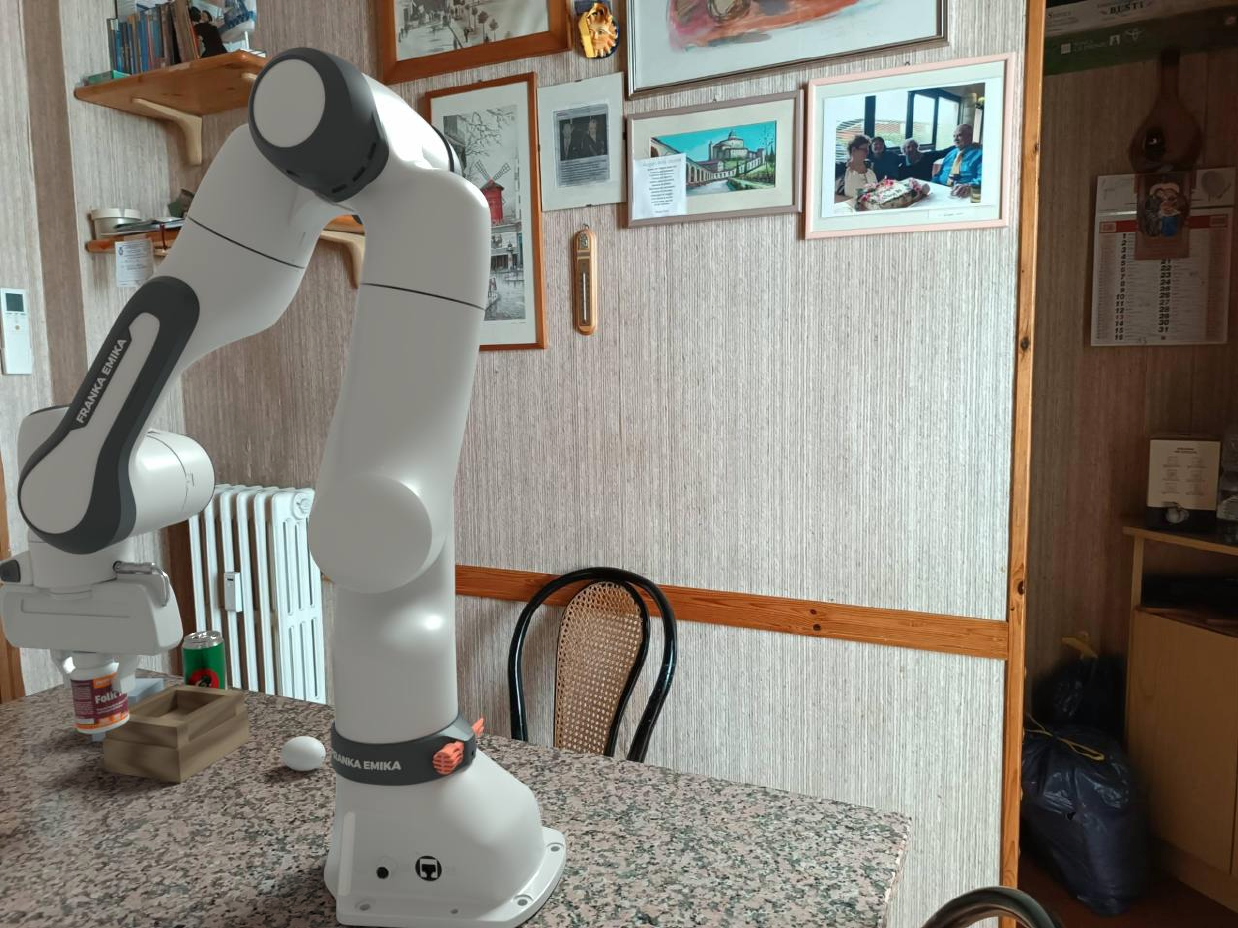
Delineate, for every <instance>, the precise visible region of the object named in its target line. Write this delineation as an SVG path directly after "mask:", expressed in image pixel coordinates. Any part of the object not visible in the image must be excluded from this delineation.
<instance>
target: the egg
mask: <svg viewBox="0 0 1238 928" xmlns="http://www.w3.org/2000/svg"><path fill="white" fill-rule="evenodd" d="M280 754H281V759H282V761H283V763H284V765H286V766H287V767H289V768H290V769H292V770H294V771H299V772H308V771H312V770H315V769H317V768H318V767H320V766H321V765H322V764H323V762H324V761H325V758H326V748H325V747H324V744H323V743H322V742H321V741H320V740H318V739H316V738H315V737H312V736H307V735H306V736H304V735H303V736H302V735H301V736H300V735H299V736H296V737H293V738H292V739H289V740H288V741H287V742H286V743H285V744H284V745H283V746H282V749H281V753H280Z"/></svg>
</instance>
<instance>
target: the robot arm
mask: <svg viewBox="0 0 1238 928" xmlns="http://www.w3.org/2000/svg"><path fill="white" fill-rule="evenodd" d="M250 89H251V90H250V93H249V97H248V103H247V123H243V124H241V125H240V126H238V127H236V128H235V129H234V130H233V131H232V132H231V133H230V135H229V136H228V137H227V138H226V140H225V141H224V143H223V144H222V146H221V147H220V149H219V150H218V152H217V154H216V155H215V157H214V159H213V160H212V162H211V163H210V165H209V167H208V169H207V171H206V173H205V174H204V176H203V178H202V180H201V181H200V184H199V186H198V188H197V191H196V192H195V195H194V197H193V199H192V201H191V203H190V206H189V208H188V210H187V214H186V216H185V218H184V220H183V223H182V225H181V228H180V230H179V232H178V234H177V236H176V238H175V240H174V242H173V243H172V246H171V247H170V249H169V250H168V253H167V254H166V256H165V257H164V259H163V260H162V262H161V263H160V264H159V266H158V268H157V269H156V270H155V271H154V273H153V274H152V275H151V276H150V277H149V278H148V279H147V280H146V282H144V283H143V284H142V285H141V286H140V287H139V288H138V289H137V290H136V291H135V293H133V295H132V296H131V297H130V298H129V300H128V301H126V304H125V305H124V307H123V309H121V311H120V313H119V315H118V316H117V318H116V319H115V321H114V323H113V325H112V327H111V328H110V330H109V331H108V333H107V336H106V337H105V339H104V341H103V342H102V345H101V347H100V349H99V350H98V352H97V354H96V356H95V357H94V359H93V362H92V363H91V365H90V367H89V370H88V371H87V373H86V375H85V377H84V378H83V380H82V382H81V384H80V386H79V388H78V390H77V392H76V393H75V396H74V397H73V399H72V400H71V402H70V403H67V404H57V405H56V404H55V405H51V406H47V407H43V408H41V409H37V410H35V411H33V412H30V413H29V414H28V415H26V416H25V417H23V419H22V421H21V423H20V425H19V429H18V436H17V447H16V449H17V450H16V451H17V452H16V455H17V469H18V470H17V471H18V472H17V473H18V482H17V490H16V491H17V493H16V496H17V505H18V508H19V512H20V515H21V517H22V519H23V521H24V522H25V524H26V525H27V526H28V529H27V533H26V534H27V535H26V539H27V547H28V549H27V550H24V551H22V552H19V553H16V554H15V555H13V556H10V557H7V558H5V559H2V560H0V584H3V585H1V587H0V620H1V625H2V630H3V634H4V637H5V639H6V640H7V641H8V642H9V644H10V645H11V646H12V647H14V648H21V649H37V650H49V654H50V659H51V660H52V662H53V664H54V666H55V667H56V668H57V669H58V671H59V672H60V675H62V679H63V686H64V689H65V690H72V687H71V680H70V674H71V671H72V670H73V669H74V668H75V667H74V666H73V663H72V652H73V651H83V652H99V653H113V657H114V662H115V663H119V665H118V668H117V672H116V675H114V676H112V677H109V684H110V685H111V687H110V691H111V692H113V693H123V694H125V693H127V692H129V691H132V690H133V689H134V688H135V686H136V682H135V679H136V671H137V669H138V666H139V665H140V662H141V659H142V657H143V656H149V657H151V656H152V657H155V656H158V655H160V654H163V653H166V652H168V651H170V650H173V649H174V648H176V647H178V646H179V645H180V643H181V641H182V639H183V637H184V636H183V635H184V630H183V624H182V618H181V615H180V610H179V605H178V602H177V598H176V595H175V592H174V589H173V587H172V585H171V581H170V578H169V576H168V574H167V573H165V571H164V570H162V568H160V567H158V566H157V564H156V563H154V562H149V561H144V562H135V555H134V548H133V547H134V546H133V539H132V538H133V537H137V536H140V535H143V534H148V533H150V532H151V533H152V532H154V531H158V530H161V529H162V528H165V527H169V526H172V525H175V524H179V523H181V522H184V521H186V520H189V519H191V518H193V517H195V516H198V515H199V514H200V513H202V512H203V511H204V510H205V509H206V508H207V507H208V505H210V502H211V501H212V498H213V497H214V494H215V488H216V481H217V480H216V469H215V466H214V464H213V460H212V458H211V456H210V455H209V453H208V452H207V450H206V449H205V447H204V446H202V445H201V443H199V442H198V441H197V440H195V439H194V438H192V437H190V436H189V435H187V434H186V435H185V434H182V433H175V432H170V431H166V430H162V429H158V428H154V427H152V426H153V424H154V422H155V420H156V419H157V416H158V414H159V412H160V411H161V409H162V407H163V405H164V403H165V401H166V400H167V397H168V396H169V393H170V392H171V390H172V388H173V386H174V384H175V383H176V381H177V380H178V379H179V378H180V377H181V375H182V374H183V373H184V372H185V371H187V369H188V368H189V367H190V366H192V365H193V364H194V363H195V362H197V361H198V360H200V359H202V358H203V357H205V356H206V355H208V354H210V353H212V352H214V351H215V350H218V349H220V348H222V347H225V346H227V345H229V344H232V343H235V342H237V341H239V340H242V339H245V338H247V337H251V336H255V335H256V334H259V333H261V332H263V331H265V330H267V329H269V328H270V327H272V326H274V325H275V324H276V323H277V322H278V320H279V319H280V318H281V317H282V315H283V314H284V312H285V311H286V310H287V308H288V307H289V305H290V304H291V302H292V301H293V299H294V297H295V296H296V294H297V292H298V290H299V288H300V285H301V283H302V280H303V278H304V275H305V273H306V271H307V268H308V266H309V263H310V261H311V259H312V255H313V253H314V250H315V248H316V245H317V242H318V239H319V238H320V235H322V232H323V231H324V229H325V228H326V226H327V225H328V224H330V222H331V221H333V220H335V219H336V218H339V217H342V216H349V215H350V216H351V217H352V218H353V220H354V222H356V223H357V224H358V225H360V226H363V231H364V237H365V238H364V239H365V240H364V241H365V242H364V253H363V257H362V258H363V259H362V263H361V269H360V275H359V279H358V287H357V293H356V300H355V305H354V312H353V319H352V323H351V324H352V325H351V329H350V330H351V331H350V336H349V337H350V338H349V343H348V350H347V356H346V362H345V368H344V373H343V378H342V383H341V388H340V389H339V395H338V398H337V401H336V405H335V407H334V411H333V415H332V419H331V422H330V426H329V430H328V434H327V438H326V442H325V446H324V451H323V453H322V458H321V463H320V466H319V471H318V476H317V480H316V486H315V489H314V490H315V491H314V494H313V498H312V503H311V507H310V512H309V515H308V519H307V520H308V521H307V529H306V530H307V533H306V534H307V537H306V538H307V544H308V549H309V552H310V555H311V557H312V560H313V561H314V563H315V565H316V567H317V568H318V570H320V572H321V573H322V574H323V575H324V576H325V577H326V578H327V579H328V580H330V581H331V582H332V583H334V584H335V597H334V598H335V599H334V609H333V610H334V611H333V612H334V613H333V621H332V622H333V623H332V630H331V636H330V656H331V657H330V659H331V675H332V676H331V678H332V698H333V712H334V714H333V715H334V720H333V722H332V723H331V725H330V759H331V761H330V762H331V767H332V769H333V771H334V772H335V776H336V777H335V803H334V816H333V817H334V818H333V822H332V823H333V825H332V833H331V839H330V845H329V848H328V849H329V850H328V854H327V859H326V862H325V865H324V869H323V881H324V883H325V886H326V888H327V890H328V891H329V892H330V894H331V895H332V896H333V898H334V899H335V901H336V903H335V916H336V920H337V922H338V923H339V924H341V925H346V926H361V927H363V926H364V927H383V928H516V927H518V926H520V925H521V924H523V923H524V922H526V921H527V920H528V919H530V918H531V917H532V916H534V915H535V913H536V912H538V911H539V909H540V908H542V906H543V905H544V904H545V903H546V901H547V900H548V899H549V898H550V896H551V894H552V893H553V892H554V890H555V888H556V887H557V885H558V883H559V881H560V879H561V877H562V875H563V872H564V869H565V866H566V862H567V855H568V854H567V853H568V852H567V846H566V845H567V844H566V840H565V837H564V835H563V833H562V832H561V831H559V830H556V829H553V828H550V827H546V826H543V824H542V818H541V812H540V808H539V804H538V802H537V799H536V797H535V795H534V793H533V791H532V790H531V789H530V787H528V786H527V785H525V784H524V783H523V782H521V781H520V780H519V779H517V778H516V777H515V776H513V775H512V774H511V773H510V772H509V771H507V770H506V769H504V768H503V767H502V766H500V765H499V764H498V763H497V762H496V761H495V760H493V759H492V758H490V757H489V756H488V755H487V754H485V753H484V752H483V751H481V750H480V748H478V746H477V742H476V738H478V736H479V735H480V734H481V733H482V732H483V731H484V728H485V727H484V726H483V723H484V719H485V718H483V717H480V718H479V719H478V720H477V722H475V723H474V724H473V725H472V726H471V725H470V723H468V720H467V718H466V716H465V714H464V712H463V710H462V708H461V706H460V705H459V704H458V703H459V702H458V679H457V678H458V673H457V650H456V648H457V647H456V645H457V643H456V561H455V560H456V556H455V555H456V554H455V552H456V550H455V547H456V545H455V539H456V538H455V498H454V490H455V485H456V478H457V474H458V468H459V463H460V457H461V451H462V445H463V440H464V435H465V429H466V424H467V418H468V414H469V410H470V409H469V408H470V404H471V400H472V399H471V398H472V392H473V387H474V382H475V381H474V380H475V375H476V371H477V369H476V368H477V362H478V359H479V352H480V347H481V346H480V345H481V339H482V333H483V328H484V327H483V326H484V323H485V322H484V321H485V315H486V310H487V303H488V297H489V296H488V295H489V288H490V279H491V265H492V264H491V263H492V213H491V209H490V206H489V202H488V201H487V198H486V196H485V195H484V194H483V192H482V191H481V190H480V189H479V188H478V187H477V186H476V185H475V184H474V183H472V182H471V181H469V180H467V179H466V178H465V177H463V170H462V167H461V163H460V160H459V158H458V155H457V153H456V151H455V150H454V148H453V146H452V145H451V143H450V142H449V140H448V139H447V138H446V136H444V135H443V133H442V132H441V131H440V130H439V129H438V128H437V127H436V126H434V125H433V124H430V123H429V122H427V121H426V120H425V119H424V118H423V117H422V116H421V115H420V114H419V113H418V112H416V110H414V109H413V108H412V107H411V106H410V105H409V104H408V103H407V102H406V101H405V100H404V98H402V97H401V96H400V95H399V94H398V93H396V92H395V91H393V90H391V89H390V88H389V87H387V86H386V85H384V84H383V83H381V82H380V81H378V80H376V79H374V78H372V77H371V76H369V75H367V74H365V73H363V72H361V70H360V69H358V67H356V66H355V65H354V64H353V63H352V62H351V61H348V60H347V59H344V58H342V57H340V56H338V55H335V54H333V53H331V52H328V51H325V50H321V49H317V48H313V47H308V46H301V47H300V46H298V47H293V48H289V49H286V50H284V51H282V52H279V53H278V54H276V55H275V56H273V57H272V58H271V59H269V61H268V62H267V63H266V64H265V65H264V66H263V67H262V68H261V70H260V71H259V73H258V74H257V76H256V78H255V80H254V82H253V84H252V86H251V88H250Z"/></svg>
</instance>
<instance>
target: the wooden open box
mask: <svg viewBox="0 0 1238 928" xmlns="http://www.w3.org/2000/svg"><path fill="white" fill-rule="evenodd" d="M128 707H129V719H128V721H127V722H126V723H124V724H123V725H121V726H119V727H116V728H114V729H111V730H108V731H105V734H106V737H105V738H102V741H101V742H102V749H103V750H102V751H103V760H104V761H103V762H104V771H105V772H108V773H114V774H115V773H116V774H120V775H121V774H122V775H128V776H134V777H141V778H148V779H153V780H160V781H165V782H173V783H180V784H182V783H183V782H185V781H186V780H188V779H190V778H192V777H193V776H195V775H197V774H198V773H200V772H202V771H203V770H204V769H206V768H209V766H211V765H212V764H215V763H216V762H217V761H219V760H221V759H222V758H224V757H226V756H227V755H229V754H230V753H232V752H234V751H235V750H236V749H239V748H240V747H242V746H243V745H245V744H247V743H248V742H250V741H251V732H250V720H249V719H250V718H249V709H246V704H245V692H244V691H240V690H232V689H228V690H225V689H216V688H207V687H199V686H190V685H184V684H180V683H175V684H173V685H171V686H169V687H167V688H164V690H162V691H160V692H158V693H156V694H153V695H151V696H149V697H147V698H145V699H143V700H141V701H138V702H136V703H134V704H132V705H130V706H128ZM191 776H192V777H191Z"/></svg>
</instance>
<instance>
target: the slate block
mask: <svg viewBox="0 0 1238 928" xmlns="http://www.w3.org/2000/svg"><path fill="white" fill-rule="evenodd" d="M135 682H136V686H135V688H134V689H133V690H132V691H129V692H127V698H128V706H130V705H132V704H134V703H136V702H138V701H141V700H143V699H145V698H147V697H149V696H151V695H153V694H156V693H158V692H160V691H162V690H164V689H165V686H164V685H165V683H164V678H163V677H161V678H160V677H159V678H155V677H153V678H151V677H150V678H147V677H145V678H135ZM91 735H92V742H103V741H102V738H105V737H106V734H105V731H104V732H100V733H92V734H91Z"/></svg>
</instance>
